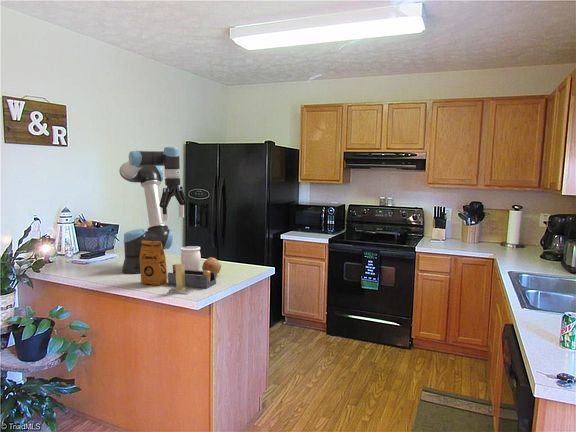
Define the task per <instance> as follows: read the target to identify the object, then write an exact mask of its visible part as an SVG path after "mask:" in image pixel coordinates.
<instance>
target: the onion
mask: <svg viewBox="0 0 576 432" xmlns="http://www.w3.org/2000/svg"><path fill="white" fill-rule="evenodd" d="M221 269H222V264H221V262H220V261H219V260H218V259H217V258H215V257H208V258H206V259H205V260H204V262H203V263H202V270H201V271H204V270H210V272H216V276H217V275H218V274H219V273H220V271H221Z"/></svg>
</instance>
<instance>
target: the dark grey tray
mask: <svg viewBox="0 0 576 432" xmlns="http://www.w3.org/2000/svg"><path fill="white" fill-rule="evenodd" d="M177 264H178V263H175V264H174V263H173V264H172V272H167V285H168V286H174V287H176V266H175V265H177ZM216 284H217V275H216V272H210V270H204V271H203V270H199V271H197V270H185V288H197V289H206V290H207V289H208V288H211V287H213V286H214V285H216Z"/></svg>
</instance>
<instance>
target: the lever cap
mask: <svg viewBox="0 0 576 432" xmlns="http://www.w3.org/2000/svg"><path fill="white" fill-rule="evenodd" d="M176 264H177V265H175V266H176V286H174V287H173V288H170V289H168V293H171V294H181V295H182V294H183V295H189V294H191V293H193V292H194V289H193V288H189V287H186V286H185V268H184V264H182V263H176Z"/></svg>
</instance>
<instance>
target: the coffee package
mask: <svg viewBox="0 0 576 432" xmlns="http://www.w3.org/2000/svg"><path fill="white" fill-rule="evenodd" d="M141 244H142V247H141V252H140V256H139V259H140V272H141V273H140V284H142V285H153V286H162V285H164V284H168V269H167V261H166V255H165V251H164V250H163V246H162V243H161V241H142V242H141Z"/></svg>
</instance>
